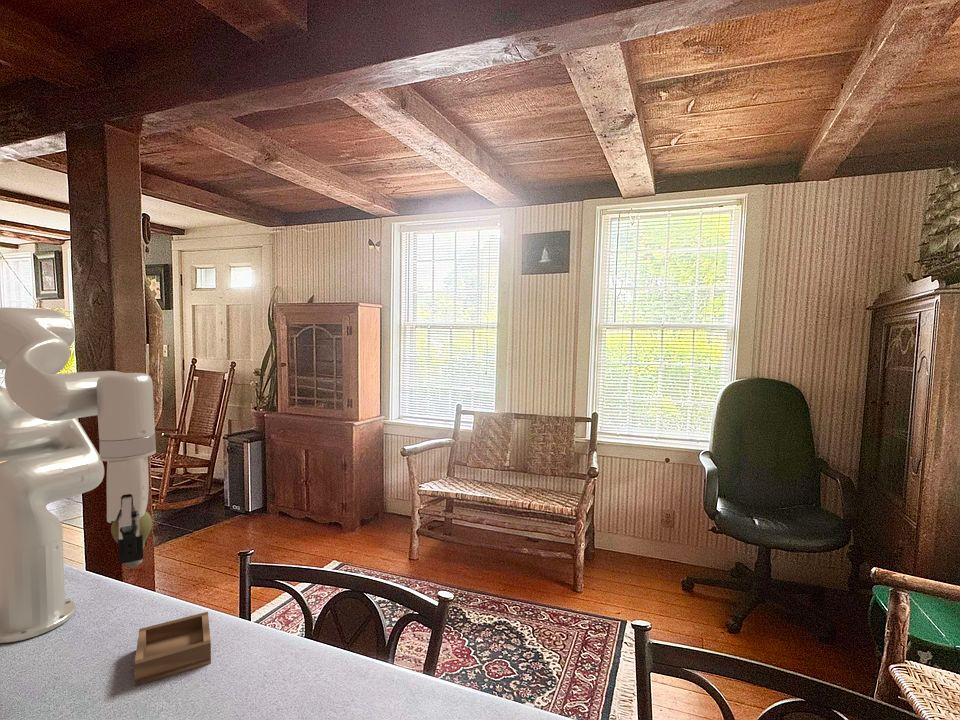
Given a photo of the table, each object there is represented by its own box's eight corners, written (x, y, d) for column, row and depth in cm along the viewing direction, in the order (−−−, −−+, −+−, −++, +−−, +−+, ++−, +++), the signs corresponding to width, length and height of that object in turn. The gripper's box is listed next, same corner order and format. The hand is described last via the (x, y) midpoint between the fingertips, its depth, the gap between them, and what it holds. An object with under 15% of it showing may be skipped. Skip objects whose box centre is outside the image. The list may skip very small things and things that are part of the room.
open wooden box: (139, 648, 84) (139, 628, 83) (208, 629, 89) (207, 611, 89) (134, 686, 75) (134, 664, 75) (210, 663, 80) (210, 642, 80)
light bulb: (132, 577, 77) (129, 516, 77) (104, 573, 78) (101, 513, 78) (162, 561, 83) (159, 504, 82) (135, 558, 84) (133, 502, 83)
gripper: (108, 440, 85) (113, 541, 86) (89, 461, 70) (96, 582, 71) (158, 436, 89) (163, 531, 90) (151, 454, 74) (157, 568, 75)
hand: (133, 552), depth 80 cm, fingers closed on light bulb, 5 cm apart
